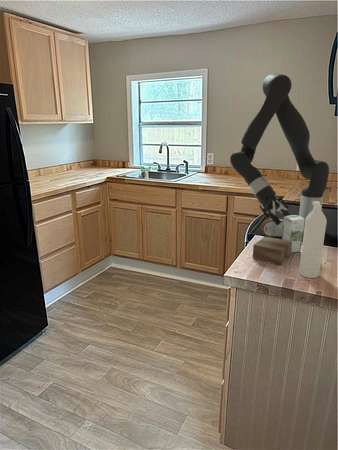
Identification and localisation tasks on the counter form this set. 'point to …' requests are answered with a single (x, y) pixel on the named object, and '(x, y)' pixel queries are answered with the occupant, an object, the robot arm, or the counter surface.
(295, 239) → the syrup box
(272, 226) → the tin
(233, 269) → the counter surface
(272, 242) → the walnut block
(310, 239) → the water bottle
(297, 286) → the counter surface
